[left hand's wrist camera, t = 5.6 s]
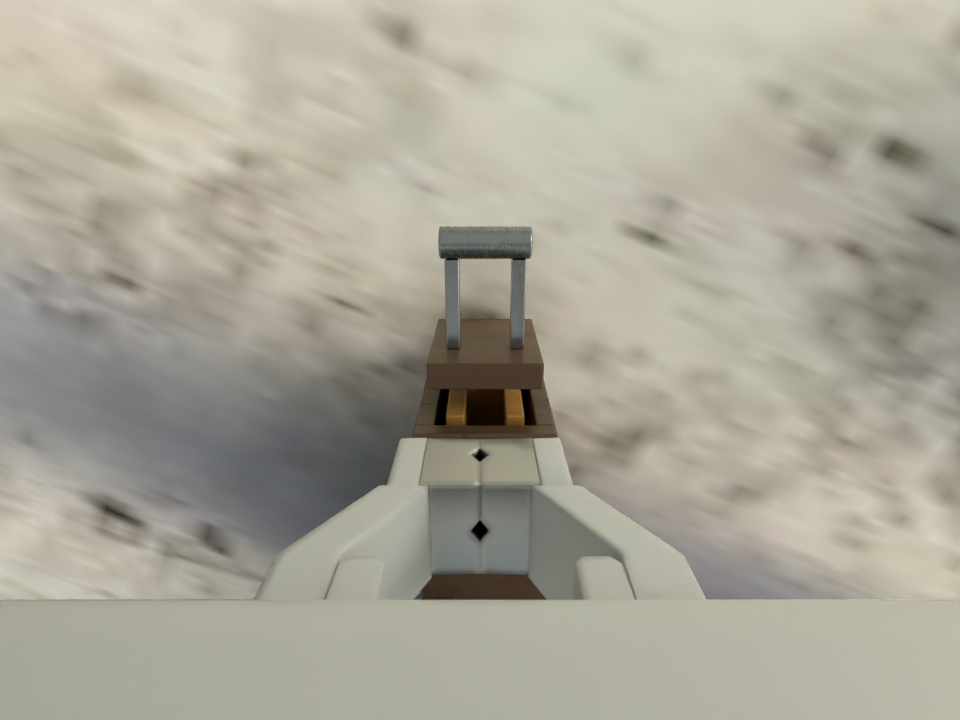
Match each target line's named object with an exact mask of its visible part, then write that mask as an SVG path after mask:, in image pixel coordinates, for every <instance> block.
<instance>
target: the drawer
mask: <svg viewBox="0 0 960 720" xmlns="http://www.w3.org/2000/svg"><path fill="white" fill-rule="evenodd" d="M532 243H533V237H532V228H531V227H440V228H439V256H440V258H441V259H445V298H446V319H439V320H438V324H437V328H436V332H435V336H434V339H433V343H432V347H431V351H430V355H429V358H428V362H427V380H428V389H450V392H449V399H448V406H447V413H446V425H476V426H524V411H523V404H522V397H521V391H520V389H542V388H543V372H544V363H543V360H542V356H541V353H540V349H539V345H538V342H537V338H536V334H535V331H534V327H533V324H532V320H531V319H525V290H526V259H530V258H531V256H532ZM459 259H511V301H510V319H460V263H459Z"/></svg>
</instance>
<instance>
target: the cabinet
mask: <svg viewBox="0 0 960 720" xmlns="http://www.w3.org/2000/svg"><path fill="white" fill-rule="evenodd" d="M520 391H521V397H522V404H523V411H524V426H476V425H446V413H447V406H448V399H449V392H450V389H428V380H426V384H425V388H424V392H423V396H422V400H421V404H420V408H419V412H418V416H417V420H416V424H415V428H414V432H413V438H427V439H429V438H443V439H522V438H532V439H536V438H558V434H557V431H556V427H555V423H554V419H553V415H552V411H551V407H550V403H549V399H548V396H547V392H546V388H545V384H544V380H543V388H542V389H520ZM528 576H529V575H510V574H449V575H432V578H431V579H430V580H429V581H428V583H427V584H426V585H425V586H424V588H423V589H422V590H421V594H422V600H547V599H546V598H545V597H544V596H543V594H542V593H541V592H540V591H539V590H538V588H537V587H536V586H535V585H534V583H533V582H532V581H531V580H530V578H529V577H528Z"/></svg>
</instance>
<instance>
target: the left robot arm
mask: <svg viewBox="0 0 960 720" xmlns="http://www.w3.org/2000/svg"><path fill="white" fill-rule="evenodd" d="M449 574H510V575H529V576H528V577H529V578H530V580H531V581H532V582H533V583H534V585H535V586H536V587H537V588H538V590H539V591H540V592H541V593H542V594H543V596H544V597H545V598H546V599H547V600H414V599H415V597H416V596H417V595H418V594H419V592H420V591H421V590H422V589H423V588H424V586H425V585H426V584H427V583H428V581H429V580H430V579H431V578H432V575H449ZM0 720H960V600H706V598H705V596H704V594H703V592H702V590H701V588H700V586H699V584H698V582H697V580H696V578H695V576H694V574H693V572H692V570H691V568H690V566H689V564H688V562H687V560H686V558H685V556H684V555H683V554H682V553H680V552H679V551H677V550H676V549H674V548H673V547H671V546H670V545H668V544H667V543H665V542H664V541H662V540H661V539H659V538H658V537H656V536H655V535H654V534H652V533H651V532H649V531H648V530H646V529H645V528H643V527H642V526H640V525H639V524H637V523H636V522H634V521H633V520H631V519H630V518H628V517H627V516H625V515H624V514H622V513H621V512H619V511H618V510H616V509H615V508H613V507H612V506H611V505H609V504H608V503H606V502H605V501H603V500H602V499H600V498H599V497H597V496H596V495H594V494H593V493H591V492H590V491H588V490H587V489H585V488H584V487H582V486H581V485H573V483H572V479H571V476H570V472H569V469H568V465H567V462H566V458H565V455H564V451H563V448H562V444H561V441H560V439H559V438H536V439H532V438H522V439H443V438H429V439H427V438H402V439H401V440H400V441H399V443H398V447H397V451H396V454H395V458H394V461H393V465H392V469H391V472H390V476H389V479H388V483H387V485H379V486H378V487H376V488H375V489H373V490H372V491H370V492H369V493H367V494H366V495H364V496H363V497H361V498H360V499H358V500H357V501H355V502H354V503H352V504H351V505H349V506H348V507H346V508H345V509H343V510H342V511H340V512H339V513H337V514H336V515H334V516H333V517H331V518H330V519H329V520H327V521H326V522H324V523H323V524H321V525H320V526H318V527H317V528H315V529H314V530H312V531H311V532H309V533H308V534H306V535H305V536H303V537H302V538H300V539H299V540H297V541H296V542H294V543H293V544H291V545H290V546H288V547H287V548H285V549H284V550H282V551H281V552H279V553H278V554H277V555H276V557H275V559H274V561H273V563H272V565H271V567H270V569H269V570H268V572H267V574H266V576H265V578H264V580H263V582H262V584H261V586H260V588H259V590H258V592H257V594H256V596H255V598H254V600H0Z"/></svg>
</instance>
